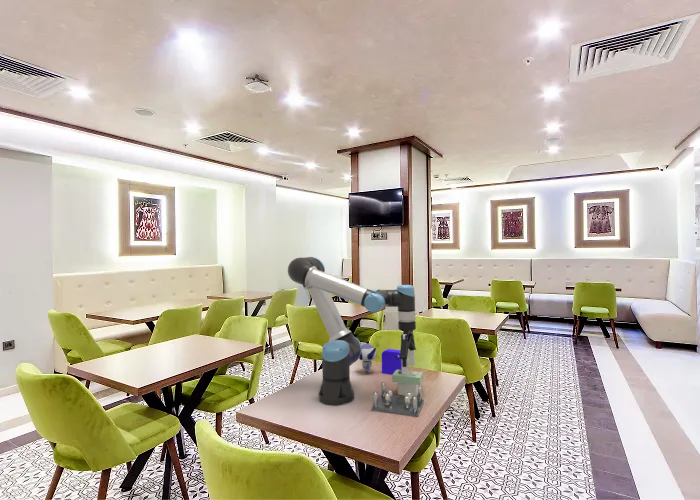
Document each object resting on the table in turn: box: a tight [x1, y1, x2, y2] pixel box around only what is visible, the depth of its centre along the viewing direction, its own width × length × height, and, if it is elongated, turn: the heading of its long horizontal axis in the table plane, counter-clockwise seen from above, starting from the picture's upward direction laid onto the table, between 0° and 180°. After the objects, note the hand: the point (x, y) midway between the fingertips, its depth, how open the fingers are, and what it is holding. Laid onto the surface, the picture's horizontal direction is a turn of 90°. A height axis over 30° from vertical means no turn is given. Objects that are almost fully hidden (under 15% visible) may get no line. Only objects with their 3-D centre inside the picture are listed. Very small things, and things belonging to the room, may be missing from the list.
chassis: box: [371, 381, 425, 418], centre depth 149 cm, size 18×14×7 cm
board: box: [391, 370, 424, 386], centre depth 162 cm, size 12×8×4 cm, turn 69°
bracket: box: [381, 348, 405, 376], centre depth 196 cm, size 18×11×12 cm, turn 151°
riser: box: [397, 383, 419, 398], centre depth 162 cm, size 8×4×6 cm, turn 69°
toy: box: [358, 343, 377, 374], centre depth 192 cm, size 11×10×15 cm
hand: (408, 369), depth 162 cm, fingers open, 13 cm apart
